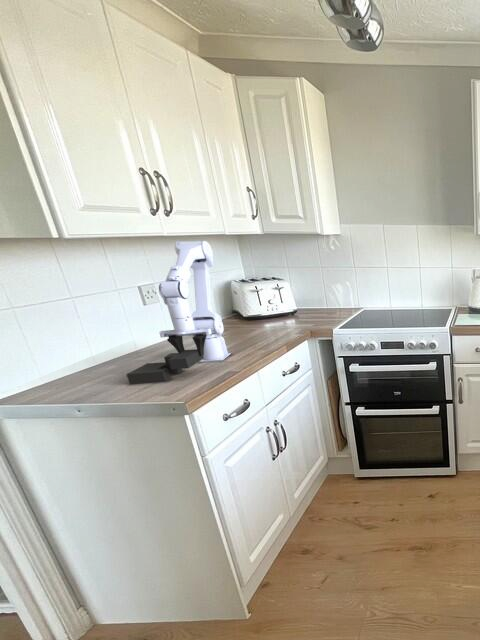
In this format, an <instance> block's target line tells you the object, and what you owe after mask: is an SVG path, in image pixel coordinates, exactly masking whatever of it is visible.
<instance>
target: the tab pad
mask: <svg viewBox="0 0 480 640" xmlns="http://www.w3.org/2000/svg"><path fill="white" fill-rule="evenodd" d="M163 358H164V362H166V365H167V367H171V369H182V370H184V369H190V368H191V367H193V366H195V365H196V364H198V363H200V362H199V361H201V360H202V359H204V357H203V355H202V356H199V353H198V350H197V348H196V349H185V350H184V351H183V352H181V353H178V352H171V353H169V354H167V355H165V356H164V357H163Z"/></svg>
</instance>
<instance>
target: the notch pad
mask: <svg viewBox="0 0 480 640" xmlns="http://www.w3.org/2000/svg"><path fill="white" fill-rule="evenodd" d="M183 371H184V369H171V367H167V365H166V362H165V361H163V362H161V361H160V362H148V363H145V364H143V365H142V366H139V367H137V368H135V369H133V370H132V371H130V372H128V373H126V378H127V380H128V383H129V385H137V384H139V385H140V384H151V383H163V382H165V383H166V382H167V381H169V380H170V379H171V378H172V377H171V375H175V374H180V373H181V372H183Z"/></svg>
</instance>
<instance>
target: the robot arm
mask: <svg viewBox="0 0 480 640" xmlns="http://www.w3.org/2000/svg"><path fill="white" fill-rule="evenodd" d="M174 252H175V253H176V255H177V258H176V263H175V265H173V266H171V267H170V269H169V271H168V274H167V276H166V278H165V281H161V282H160V283H159V285H158V293H159V295H160V297H161V298H162V300H163V303H164V305H166V306H167V309H168V313H169V316H170V320H171V323H172V327H173V329H168V330H161V331H159V332H158V333H159V336H160V338H167V337H168V338H167V342H168V343H169V344H171V346H172V347H173V348H174V349H175V350H176V352H177V353H181V352H183V351H184V350H186V349H185V346H184V341H183V337H187V336H192V337H191V338H192V341H193V343H194V345H195V347H196V349H197V350H198V353H199V356H202V355H203V357H204V359H202V360H201V361H199V362H198V363H205V362H220V361H221V362H222V361H224V360H225V359H226V358H228V357H229V356H230V355H231V354H232V353H231V352H228V348H227V344H226V341H225V338H224V337H223V336H222V335H223V333H224V331H225V330H224V323H223V320H222V316H221V315H220V314H218V313H217V312H215V311H213V303H212V289H211V287H212V286H211V274H210V268H212V267H213V266H214V252H213V249H212V247H211V244H210V243H209V242H208V241H207V240H203V241H202V240H201V241H199V240H198V241H180V240H177V241H176V242H175V244H174ZM190 269H192V271H193V283H194V284H193V285H194V300H195V311H193V312H191V307H190V304H189V300H188V298H189V296H190V290H189V288H190V286H189V283H190V279H191V276H192V274H191V271H190Z"/></svg>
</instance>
